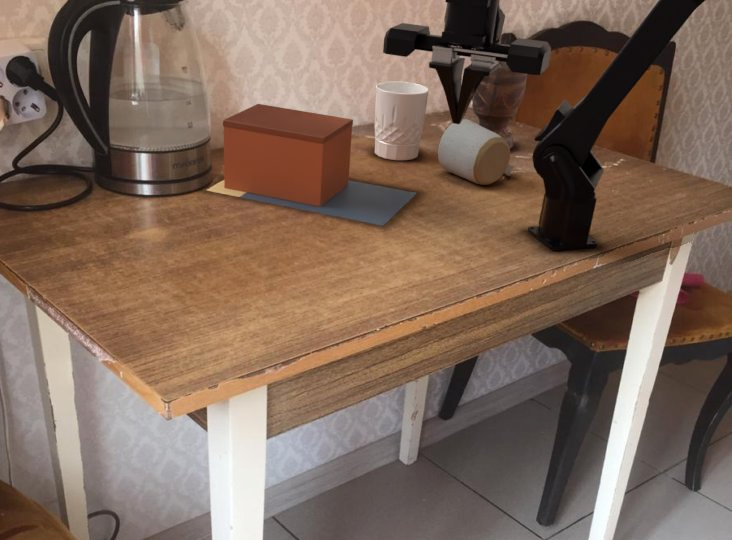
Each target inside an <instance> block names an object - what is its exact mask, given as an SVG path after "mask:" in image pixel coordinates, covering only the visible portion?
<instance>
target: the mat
mask: <svg viewBox="0 0 732 540" xmlns="http://www.w3.org/2000/svg"><path fill="white" fill-rule="evenodd" d="M205 191H207V192H211V193H215V194H221V195H226V196H231V197H237V198H241V199H246V200H250V201H256V202H259V203H266V204H271V205H276V206H280V207H281V206H282V207H286V208H290V209H296V210H301V211H306V212H310V213H316V214H321V215H325V216H331V217H335V218H341V219H346V220H351V221H355V222H360V223H366V224H370V225H376V226H380V227H384V226H385V225H386V224H387V223H389V222H390V220H392V218H393V217H395V216H396V215H397V213H398V212H399V211H401V210H402V209H403V208H404V207H406V205H407V204H408V203H409V202H410V201H411V200H412V199H413V198H414V197H415V196H416V195H417V194H418V192H415V191H410V190H409V191H408V190H403V189H398V188H393V187H387V186H382V185H381V186H380V185H377V184H370V183H366V182H360V181H355V180H350V179H349V182H348V186H346V187H345V188H344V189H343V190H341V191H340V192H339V193H337V194H336V195H335V196H334V197H332V198H331V199H330V200H328V201H327V202H326V203H325V204H323V205H322V206H321V207H318V206H313V205H308V204H303V203H298V202H293V201H288V200H283V199H278V198H273V197H268V196H263V195H258V194H253V193H248V192H243V191H238V190H233V189H228V188H224V179H223V180H221V181H219V182H218V183H216V184H214V185H212V186H210V187H209V188H207V189H205Z"/></svg>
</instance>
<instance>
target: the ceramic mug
mask: <svg viewBox="0 0 732 540" xmlns="http://www.w3.org/2000/svg"><path fill="white" fill-rule="evenodd" d="M437 158H438V162H439V165H440V166H441V168H442V169H443V170H445V171H446V172H448V173H451V174H454V175H455V176H458V177H460V178H462V179H466V180H467V181H469V182H471V183H475V184H477V185H480V186H481V185H482V186H487V185H491V184H494V183H495V182H496V181H498V180H500V178H501V177H502V176H503V175H505V176H508V177H510V175H511V174H512V172H513V169H514V165H512V164H510V159H511V149H510V148H509V145H508V143H507V142H506V140H505V139H503V138H502V137H501V136H499V135H498V134H496V133H494V132H492V131H490V130H488V129H486V128H484V127H482V126H480V125H479V123H476V122H474V121H472V120H470V119H467V118H463V120H462V122H461V123H460V124H454V123H453V122H452V123H451V124H450V125H449V126H448V127H447V128H446V129H445V131H444V132H443V134H442V135H441V138H440V141H439V144H438V148H437Z"/></svg>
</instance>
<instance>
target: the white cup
mask: <svg viewBox="0 0 732 540" xmlns="http://www.w3.org/2000/svg"><path fill="white" fill-rule="evenodd" d="M429 93H430V89H429V87H427V86H425V85H422V84H419V83H414V82H409V81H399V80H397V81H383V82H379V83H377V84H375V96H374V97H375V99H374V101H375V102H374V132H373V133H374V154H375V155H376V156H378V157H380V158H383V159H386V160H391V161H411V160H414V159H416V158H418V156H419V150H420V144H421V139H422V136H423V135H422V134H423V131H424V124H425V119H426V112H427V107H428V106H427V105H428V100H429Z"/></svg>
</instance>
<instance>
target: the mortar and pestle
mask: <svg viewBox="0 0 732 540" xmlns="http://www.w3.org/2000/svg"><path fill="white" fill-rule="evenodd" d="M477 50H478V49H477ZM498 63H499V64H500V65H499V68H498V69H497V70H496V71H495V72H493V73H492V74H491V75H489V76H485V77H484V78H483V80H482V81H481V83H480V85H479V86H478V88H477V90H476V92H475V94H474V95H473V98H472V100H471V102H472V105H471V106H472V111H473V113H474V114H475V115H476V117H477V118H478V120H479V121H478V122H479V123H478V125H480V126H482V127H484V128H486V129H488V130H490V131H492V132H494V133H496V134H498V135H499V136H501V137H502V138H503V139H505V140H506V142H507V143H508V145H509V148H510V150H511V149H512V148H513V147H514V145H515V143H514V136H513V134H512V133H511V132H510V131H509V129H508V123H509V122H510V121H511V120H512V119H513V118H514V116H516V114H517V113H518V111H519V108H520V106H521V104H522V102H523V101H524V96H525V92H526V88H527V87H526V86H527V79H528V75H529V74H524V73H516V72H512V71H511V70H510V68H509V67H508V66H507V64H506V62H502V61H498Z"/></svg>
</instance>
